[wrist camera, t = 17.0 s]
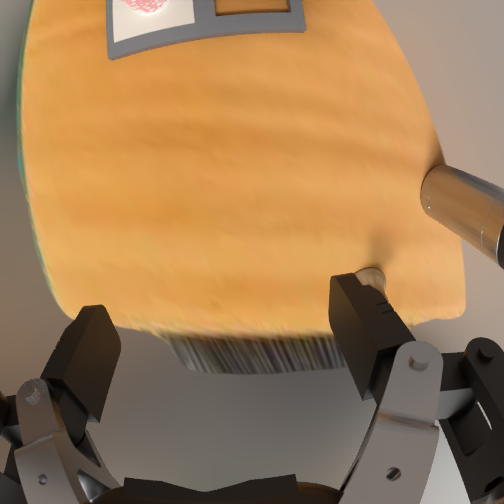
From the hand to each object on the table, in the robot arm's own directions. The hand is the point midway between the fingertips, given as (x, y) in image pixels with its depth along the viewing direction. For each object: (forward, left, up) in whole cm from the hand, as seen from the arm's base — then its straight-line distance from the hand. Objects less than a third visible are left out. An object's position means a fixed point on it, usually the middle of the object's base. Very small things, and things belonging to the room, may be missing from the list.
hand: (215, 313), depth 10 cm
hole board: (0, -24, -28) cm, 37 cm away
